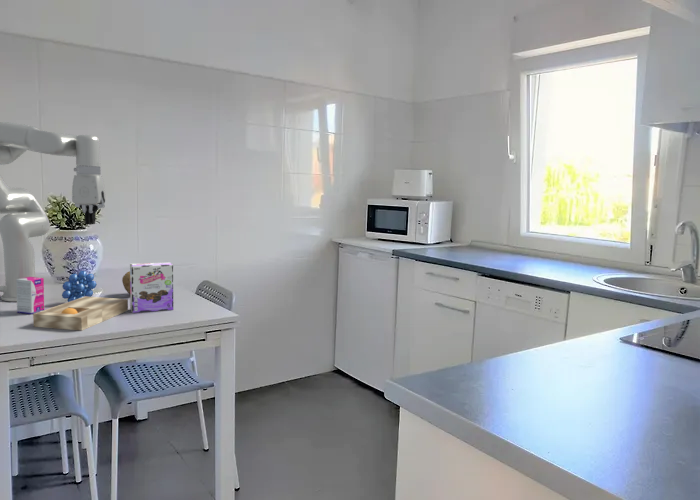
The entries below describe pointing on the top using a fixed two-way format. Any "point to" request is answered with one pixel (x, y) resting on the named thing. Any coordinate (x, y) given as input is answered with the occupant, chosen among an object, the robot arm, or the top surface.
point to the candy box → (151, 287)
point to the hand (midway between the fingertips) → (90, 224)
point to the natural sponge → (126, 281)
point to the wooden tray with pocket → (80, 313)
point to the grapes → (78, 286)
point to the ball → (69, 311)
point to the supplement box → (30, 295)
